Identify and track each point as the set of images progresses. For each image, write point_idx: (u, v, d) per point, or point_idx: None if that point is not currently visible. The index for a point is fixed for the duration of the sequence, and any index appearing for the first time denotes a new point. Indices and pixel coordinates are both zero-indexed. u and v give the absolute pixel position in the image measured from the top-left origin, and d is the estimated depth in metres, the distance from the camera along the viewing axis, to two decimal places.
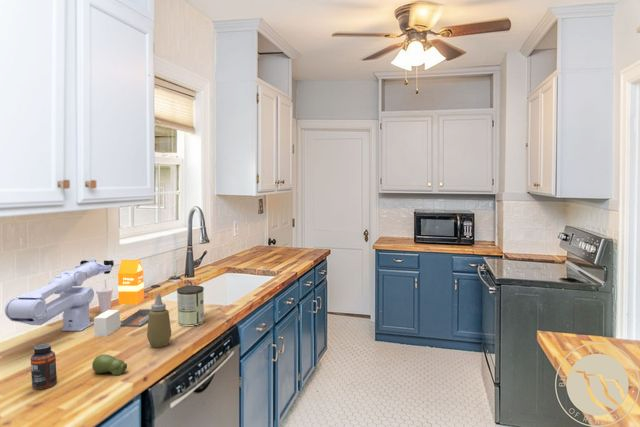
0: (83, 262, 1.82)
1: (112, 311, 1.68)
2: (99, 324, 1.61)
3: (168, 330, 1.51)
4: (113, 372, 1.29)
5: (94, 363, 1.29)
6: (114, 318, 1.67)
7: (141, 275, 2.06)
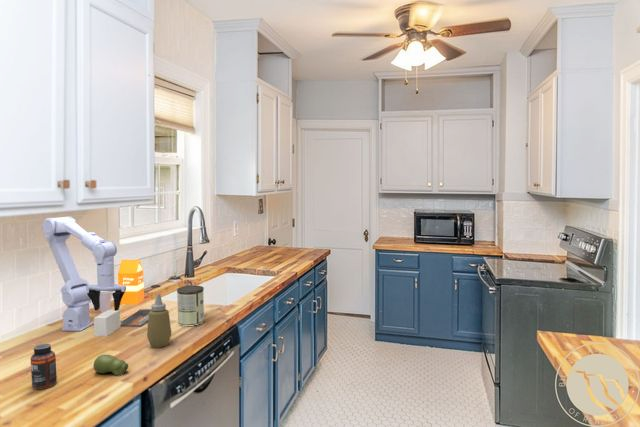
0: None
1: (112, 311, 1.68)
2: (99, 324, 1.61)
3: (168, 330, 1.51)
4: (114, 372, 1.29)
5: (95, 363, 1.29)
6: (114, 318, 1.67)
7: (141, 275, 2.06)
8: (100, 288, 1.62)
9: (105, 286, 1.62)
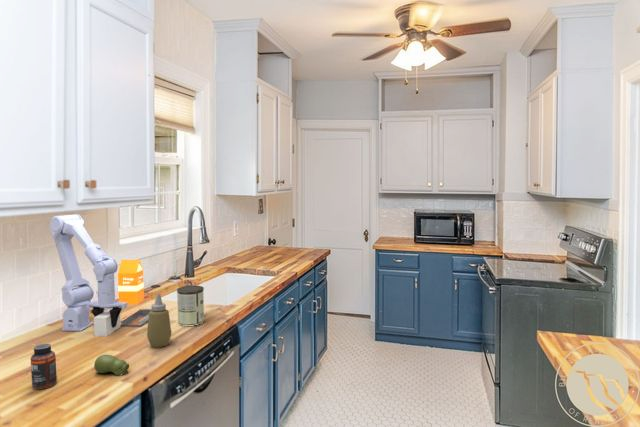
0: None
1: None
2: (99, 324, 1.61)
3: (168, 330, 1.51)
4: (115, 372, 1.29)
5: (96, 363, 1.29)
6: None
7: (141, 275, 2.06)
8: (101, 305, 1.62)
9: (106, 303, 1.62)
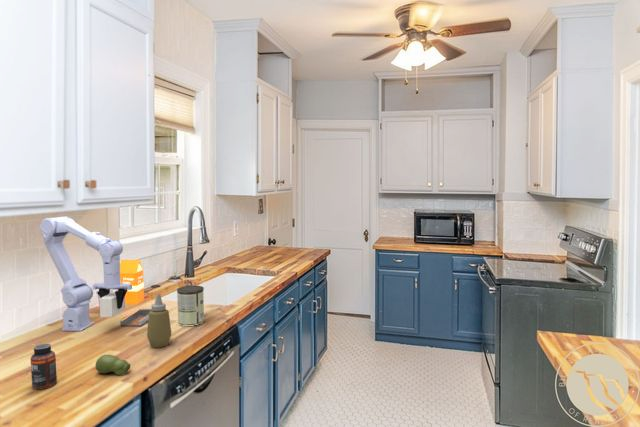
0: None
1: None
2: (105, 305, 1.62)
3: (168, 330, 1.51)
4: (116, 372, 1.29)
5: (97, 363, 1.29)
6: None
7: (141, 275, 2.06)
8: (106, 286, 1.64)
9: (111, 284, 1.64)
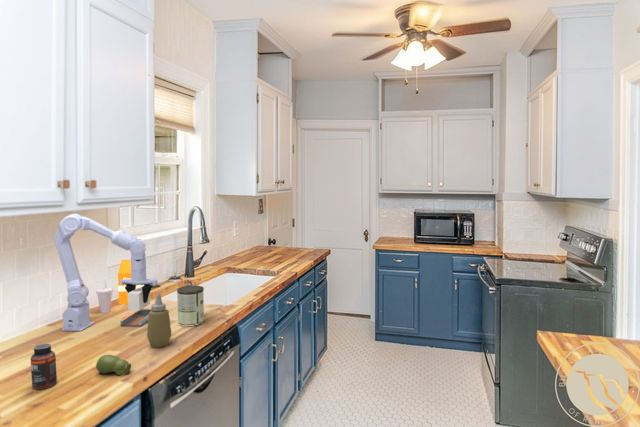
0: None
1: None
2: (133, 299, 1.74)
3: (168, 330, 1.51)
4: (117, 372, 1.29)
5: (98, 363, 1.29)
6: None
7: None
8: (134, 282, 1.75)
9: (138, 280, 1.76)
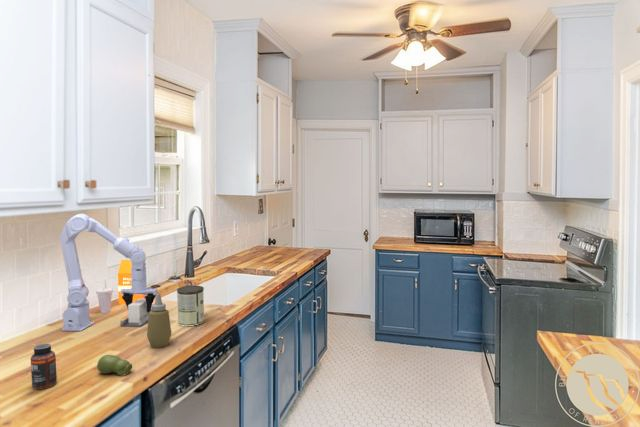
0: None
1: (143, 299, 1.82)
2: (133, 311, 1.74)
3: (168, 330, 1.51)
4: (118, 372, 1.29)
5: (99, 363, 1.29)
6: (146, 306, 1.80)
7: None
8: (134, 292, 1.76)
9: (138, 290, 1.76)
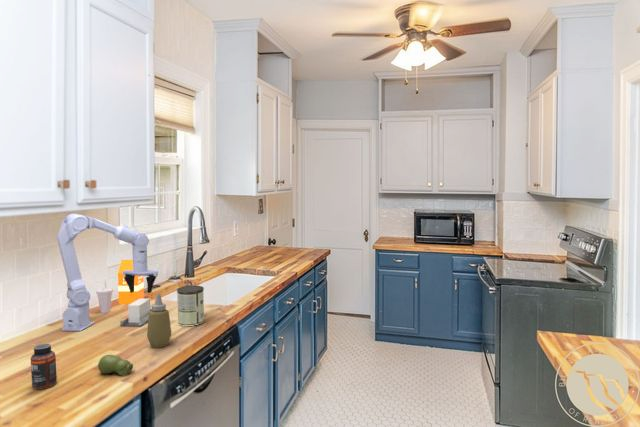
0: None
1: (143, 299, 1.82)
2: (133, 311, 1.74)
3: (168, 330, 1.51)
4: (119, 372, 1.29)
5: (100, 363, 1.29)
6: (146, 306, 1.80)
7: None
8: (135, 273, 1.83)
9: (140, 271, 1.83)
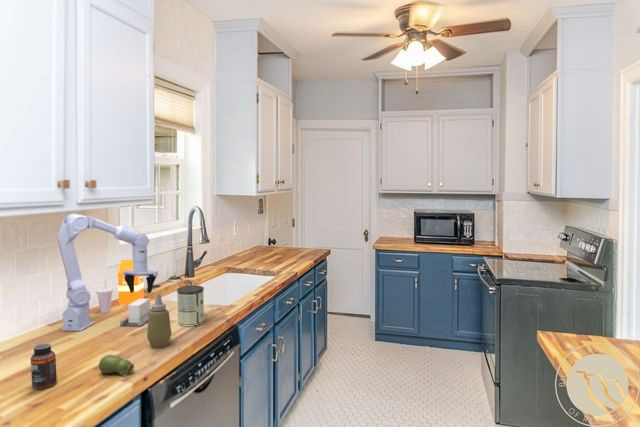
0: None
1: (143, 299, 1.82)
2: (133, 311, 1.74)
3: (168, 330, 1.51)
4: (120, 372, 1.29)
5: (101, 364, 1.29)
6: (146, 306, 1.80)
7: None
8: (135, 273, 1.83)
9: (140, 271, 1.84)
